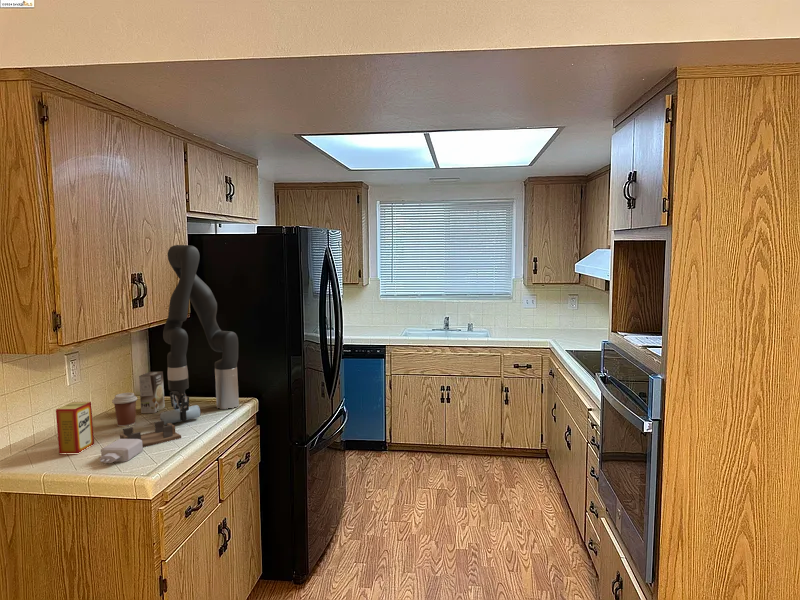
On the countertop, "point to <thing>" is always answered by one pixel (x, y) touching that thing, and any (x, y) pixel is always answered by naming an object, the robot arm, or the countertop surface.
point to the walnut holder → (153, 434)
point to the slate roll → (174, 415)
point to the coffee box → (151, 392)
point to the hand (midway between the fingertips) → (180, 419)
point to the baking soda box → (74, 427)
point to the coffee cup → (125, 408)
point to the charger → (121, 450)
